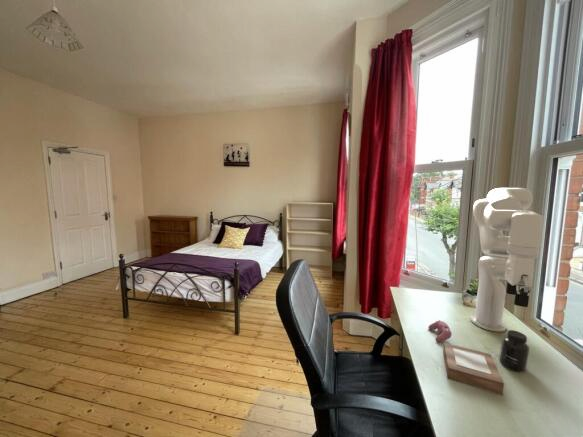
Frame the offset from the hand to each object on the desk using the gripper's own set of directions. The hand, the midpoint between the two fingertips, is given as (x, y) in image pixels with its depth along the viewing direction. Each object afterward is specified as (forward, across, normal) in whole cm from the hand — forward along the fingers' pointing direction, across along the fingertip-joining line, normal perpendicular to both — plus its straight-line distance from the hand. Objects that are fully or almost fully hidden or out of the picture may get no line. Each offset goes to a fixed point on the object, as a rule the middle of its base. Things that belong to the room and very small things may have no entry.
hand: (516, 299), depth 82 cm
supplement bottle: (+24, -1, +1) cm, 25 cm away
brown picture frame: (+24, +10, -12) cm, 29 cm away
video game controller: (+24, -7, -20) cm, 33 cm away
